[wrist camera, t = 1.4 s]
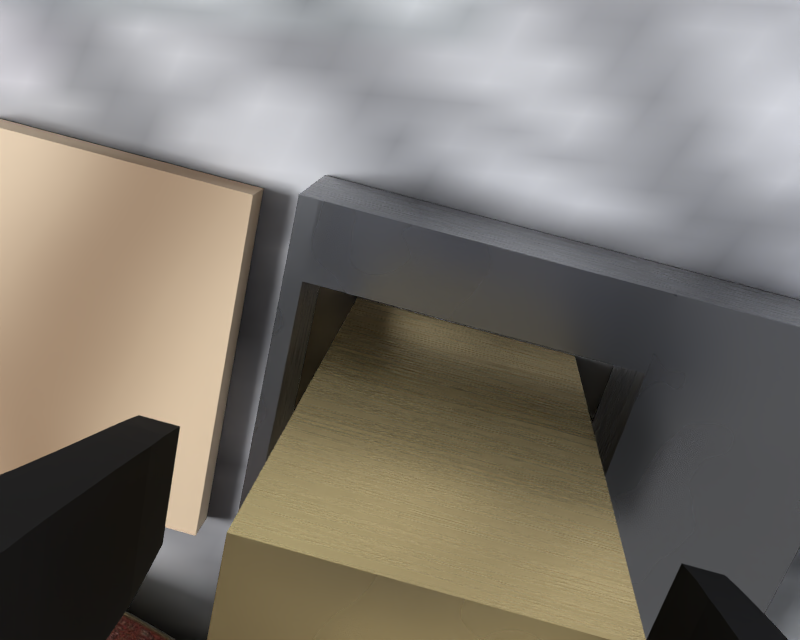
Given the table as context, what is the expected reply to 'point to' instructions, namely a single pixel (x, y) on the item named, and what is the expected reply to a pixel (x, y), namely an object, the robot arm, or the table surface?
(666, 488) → the grey square frame
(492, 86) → the table surface
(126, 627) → the planter
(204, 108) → the table surface
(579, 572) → the brushed brass bar
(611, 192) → the table surface
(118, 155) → the coaster
